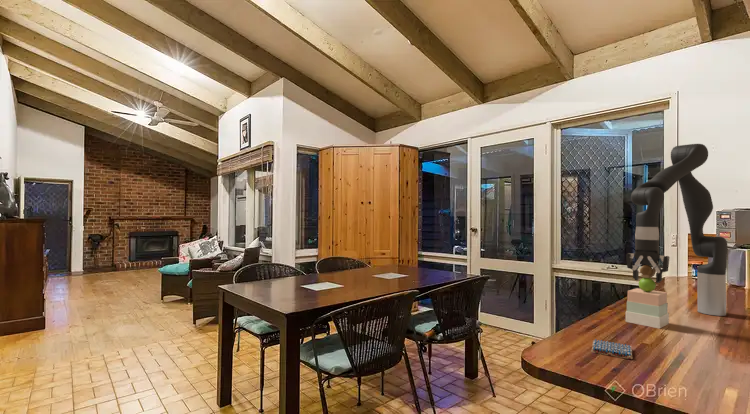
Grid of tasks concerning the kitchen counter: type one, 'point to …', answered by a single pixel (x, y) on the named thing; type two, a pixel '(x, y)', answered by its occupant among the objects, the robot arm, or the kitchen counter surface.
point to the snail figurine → (647, 278)
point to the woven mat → (612, 349)
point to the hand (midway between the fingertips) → (647, 281)
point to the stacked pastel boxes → (647, 308)
